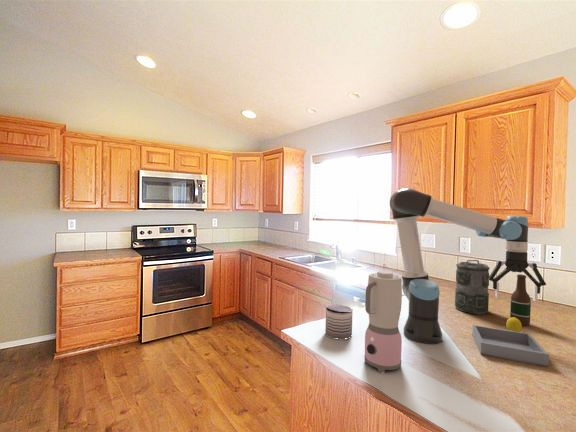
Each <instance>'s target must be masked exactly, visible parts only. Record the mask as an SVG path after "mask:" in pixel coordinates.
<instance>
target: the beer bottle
mask: <svg viewBox="0 0 576 432" xmlns="http://www.w3.org/2000/svg"><path fill="white" fill-rule="evenodd" d="M516 277H517V279H516V286H515V287H516V288H515V290H514V291H513V292H512V293H511V296H510V315H509V318H512V317H515V318H517V319H518V320H519V321H520V322H521V325H522V327H528V326H530V325H531V308H532V307H531V305H532V303H531V301H532V300H531V299H532V298H531V297H530V295H529V294H528V292H527V283H526V281H527V280H526V279H527V275H526V274H519V273H518V274H517V275H516Z"/></svg>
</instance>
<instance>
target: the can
mask: <svg viewBox="0 0 576 432" xmlns="http://www.w3.org/2000/svg"><path fill="white" fill-rule="evenodd" d="M353 310H354V308H351V307H349V306H347V305H342V304H334V303H333V304H330V303H328V304H326V305H325V328H324V329H325V332H326V333H325V335H326V334H327V335H328V336H330V337H332V338H338V339H345V338H349V337H350V336H351V335H352V336H353ZM327 335H326V336H327ZM328 336H327V337H328ZM352 336H351V337H352ZM330 337H329V338H330ZM351 337H350V338H351ZM332 338H331V339H332ZM350 338H349V339H350Z"/></svg>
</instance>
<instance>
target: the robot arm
mask: <svg viewBox="0 0 576 432" xmlns="http://www.w3.org/2000/svg"><path fill="white" fill-rule="evenodd" d="M389 207H390V209H391V211H392V220H394V221H395V222H396V225H397V230H398V237H399V243H400V244H399V245H400V251H401V257H402V262H403V264H402V265H403V269H404V270H403V271H404V272H403V273H402V274H401V280H402V293H403V295H404V296H405V297H406V298H407V300H408V316H407V319H406V321H405V324H404V326H403V335H404V336H405V337H407V339H410V340H412V341H414V340H415V342H417V341H418V342H417V343H422V344H439V343H441V342H443V332H442V329H441V326H440V323H439V322H440V321H439V308H440V307H439V305H440V304H439V303H440V302H439V301H440V288H439V284H438V283H436V282H435V281H431V280H430V277H429V272H427V271H426V270H425V269H424V263H423V255H422V249H421V248H422V247H421V242H420V236H419V231H418V223H417V220H418V219H419V217H422V218H425V217H431V218H433V219H436V220H441V221H444V222H447V223H450V224H454V225H456V226H460V227H462V228H467V229H470V230H473V231H475V233H476V235H477V236H478V237H483V238H488V237H489V238H495V239H496V238H497V239H502V240H505V241H506V242H505V243H506V244H505V245H506V247H505V250H506V252H505V261H504V260H503V261H502V260H497V261H496V265H495V266H494V268H493V270H492V272H491V273H489V277H488V279H489V282H492V288H493V290H495V295H494V296H495V298H500V283H499V281H500V280H501V279H503V278H504V277H505V276H506V275H507V274H508V273H510V272H512V273H516V272H517V273H524V275H525V276H526V277H527V278H529V280H530V281H532V282H533V285H532V301H534V302H535V303H536V302H538V295H540V294H541V287H543V286H546V285H547V283H546V282H545V280H544V278H543V276H542V275H541V273H540V271H539V269H538V266H537V263H536V262H528V252H527V251H528V249H529V248H528V239H529V238H528V237H529V219H528V217H527V216H524V215H523V216H522V215H521V216H520V215H519V216H517V215H515V216H514V215H508V216H507V217H506V219H502V218H498V217H496V216H493V215H489V214H485V213H483V212H479V211H475V210H472V209H469V208H466V207H462V206H460V205H459V206H458V205H456V204H452V203H449V202H445V201H442V200H439V199H435V198H433V196H432V195H430V194H427V193H424V192H421V191H419V190H416V189H413V188H410V187H409V188H408V187H407V188H406V187H404V188H401V189H399V190H397V191H395V192H393V194H392V195H391V196H390V200H389ZM504 265H505V268H504V269H503V270H502V271H501V272H499V271H500V269H501V267H503V266H504ZM527 268H531V269H532V272H533V274H535V276H536V278H537V279H538V280H537V279H536V278H535V277H534V276H533V275H532V274H531V273H530V272H529V271H528V270H527ZM498 272H499V273H498ZM497 274H498V275H497Z"/></svg>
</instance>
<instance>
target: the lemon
mask: <svg viewBox="0 0 576 432" xmlns="http://www.w3.org/2000/svg"><path fill="white" fill-rule="evenodd" d="M505 326H506V330H510V331H516V332H522V329H523V326H522V325H521V322H520V321H519V320H518V319H517V318H515V317H512V318H510V317H509V318H508V319H506V325H505Z"/></svg>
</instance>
